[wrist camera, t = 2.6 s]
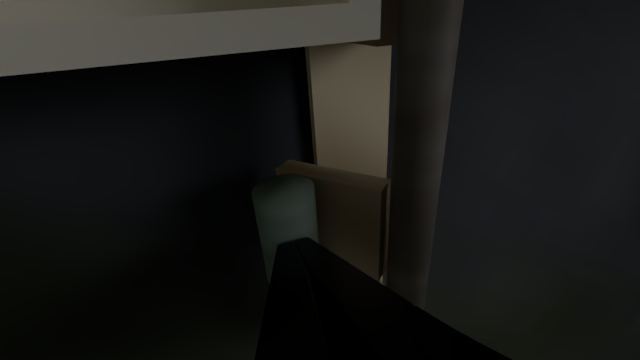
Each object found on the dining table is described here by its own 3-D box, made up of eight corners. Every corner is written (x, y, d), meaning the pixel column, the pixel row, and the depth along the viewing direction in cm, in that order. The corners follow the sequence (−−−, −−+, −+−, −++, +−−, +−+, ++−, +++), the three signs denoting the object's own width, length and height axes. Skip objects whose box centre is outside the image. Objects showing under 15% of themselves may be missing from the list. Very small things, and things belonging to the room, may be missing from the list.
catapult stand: (547, 244, 18) (612, 286, 15) (326, 317, 15) (355, 388, 12) (737, -307, 9) (986, -458, 6) (265, -448, 5) (331, -936, 3)
